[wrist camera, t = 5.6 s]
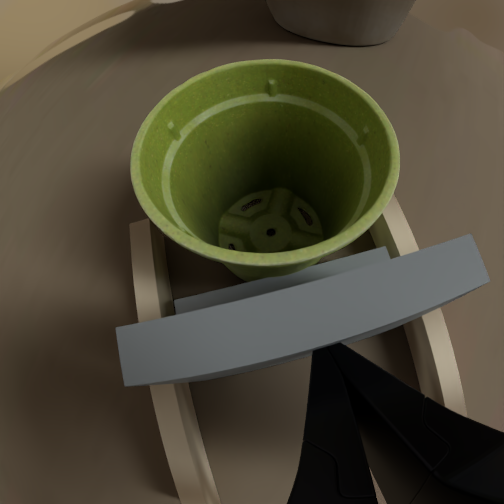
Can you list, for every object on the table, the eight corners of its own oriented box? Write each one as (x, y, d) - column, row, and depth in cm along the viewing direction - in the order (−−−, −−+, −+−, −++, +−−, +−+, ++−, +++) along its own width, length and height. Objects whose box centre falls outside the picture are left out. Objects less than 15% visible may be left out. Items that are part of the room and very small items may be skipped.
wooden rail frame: (447, 432, 13) (470, 437, 10) (200, 505, 12) (188, 523, 10) (368, 187, 19) (378, 164, 16) (145, 242, 18) (129, 223, 16)
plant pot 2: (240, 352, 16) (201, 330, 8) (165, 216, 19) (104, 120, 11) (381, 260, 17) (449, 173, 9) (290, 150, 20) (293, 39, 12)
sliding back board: (389, 330, 15) (490, 281, 7) (205, 380, 15) (124, 386, 7) (368, 266, 16) (439, 170, 8) (191, 312, 16) (109, 248, 8)
